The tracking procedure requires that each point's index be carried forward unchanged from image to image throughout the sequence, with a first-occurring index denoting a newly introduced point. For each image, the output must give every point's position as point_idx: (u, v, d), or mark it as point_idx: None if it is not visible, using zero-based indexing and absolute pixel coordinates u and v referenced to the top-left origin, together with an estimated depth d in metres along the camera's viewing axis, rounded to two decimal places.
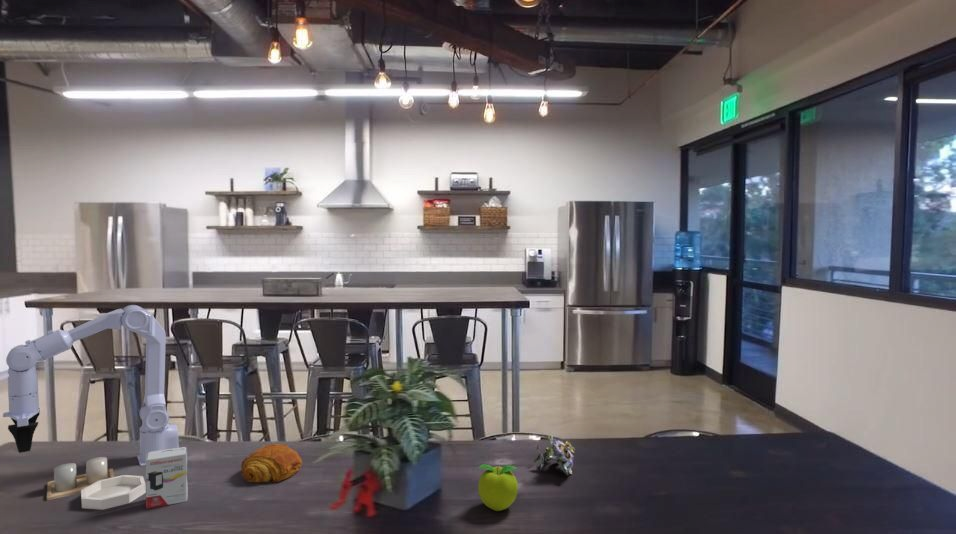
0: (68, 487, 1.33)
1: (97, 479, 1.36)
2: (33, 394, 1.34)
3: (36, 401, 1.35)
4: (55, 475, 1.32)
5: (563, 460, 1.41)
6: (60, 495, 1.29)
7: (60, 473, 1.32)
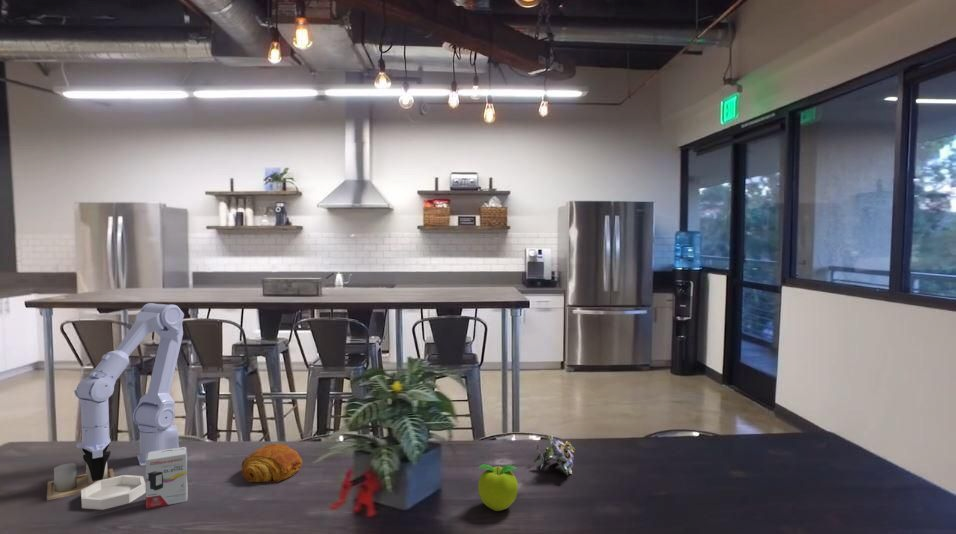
0: (68, 487, 1.33)
1: None
2: (105, 425, 1.37)
3: (107, 432, 1.38)
4: (55, 474, 1.32)
5: (563, 460, 1.41)
6: (60, 495, 1.29)
7: (60, 473, 1.32)
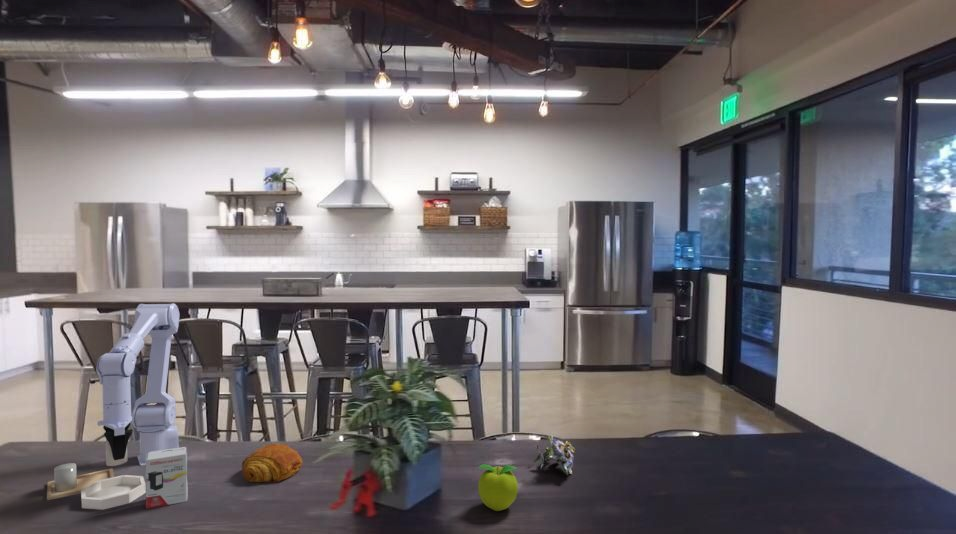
0: (68, 487, 1.33)
1: (116, 460, 1.31)
2: (127, 402, 1.32)
3: (129, 409, 1.33)
4: (55, 474, 1.32)
5: (563, 460, 1.41)
6: (60, 495, 1.29)
7: (60, 473, 1.32)
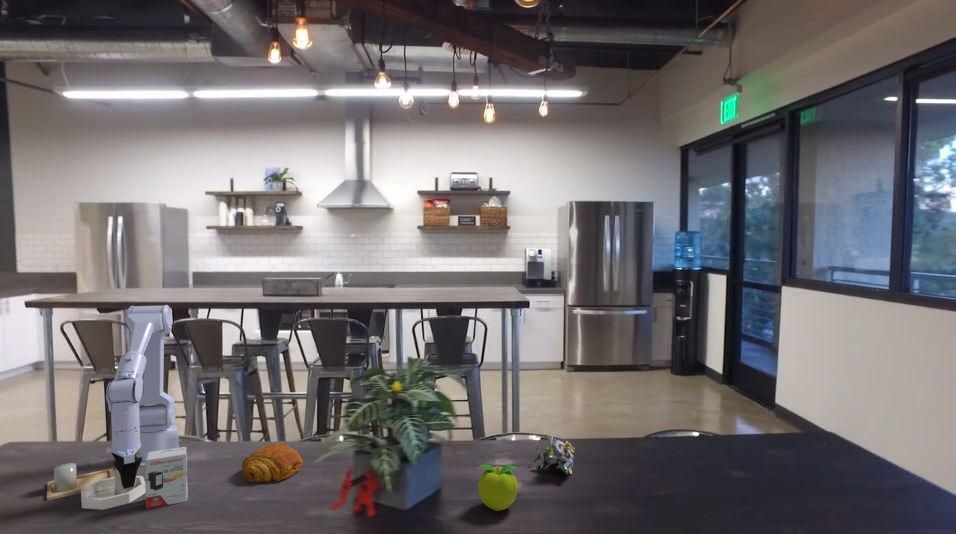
0: (68, 487, 1.33)
1: (125, 490, 1.30)
2: (136, 429, 1.31)
3: (138, 436, 1.32)
4: (55, 474, 1.32)
5: (563, 460, 1.41)
6: (60, 495, 1.29)
7: (60, 473, 1.32)
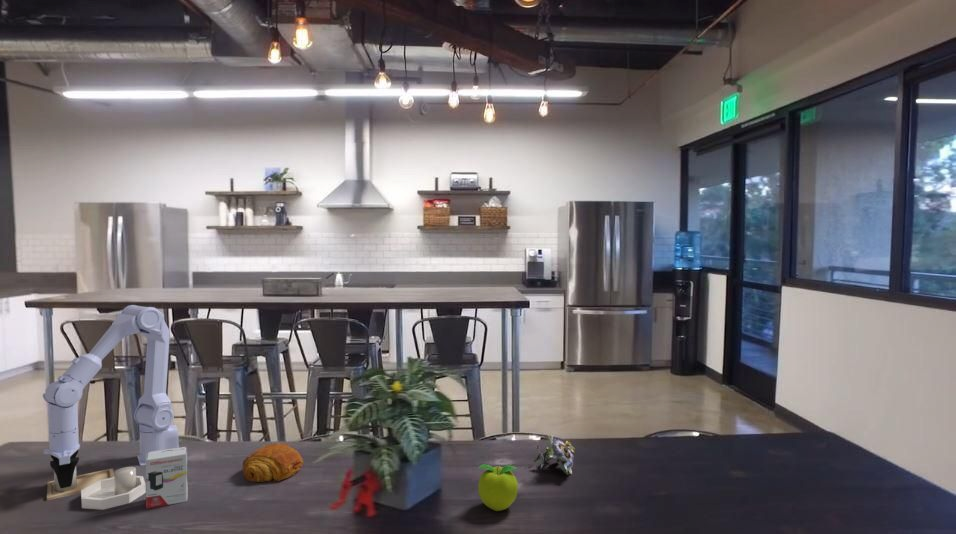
0: (68, 487, 1.33)
1: (125, 490, 1.30)
2: (74, 430, 1.33)
3: (76, 437, 1.34)
4: (55, 474, 1.32)
5: (563, 460, 1.41)
6: (60, 495, 1.29)
7: None
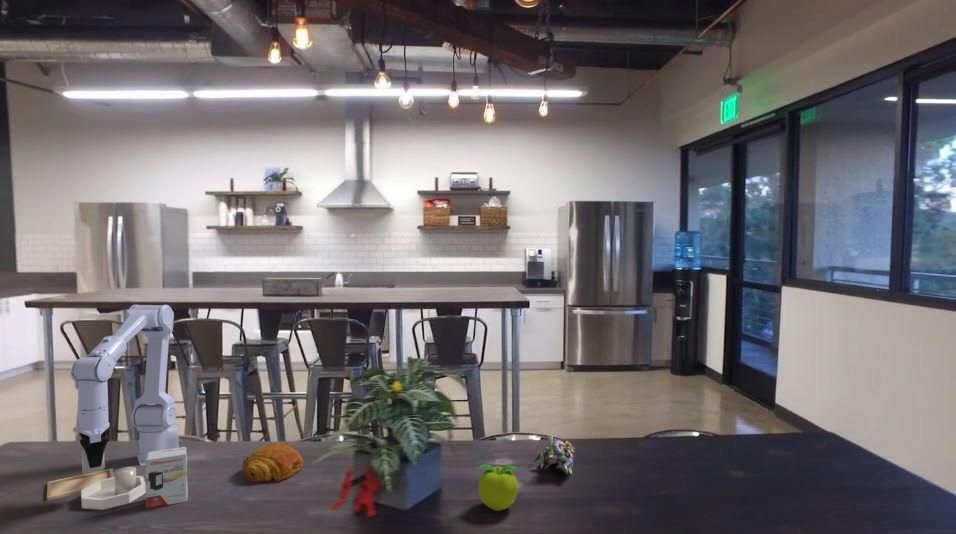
0: (95, 468, 1.27)
1: (125, 490, 1.30)
2: (104, 408, 1.27)
3: (106, 415, 1.28)
4: (82, 455, 1.26)
5: (563, 459, 1.41)
6: (60, 495, 1.29)
7: None
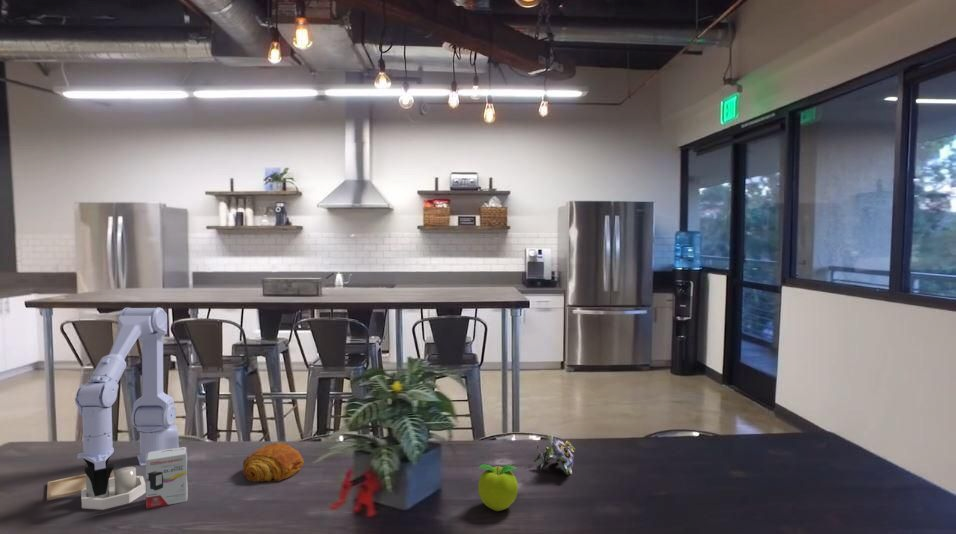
0: None
1: (125, 490, 1.30)
2: (108, 434, 1.27)
3: (111, 441, 1.28)
4: (87, 485, 1.26)
5: (563, 459, 1.41)
6: (60, 495, 1.29)
7: None
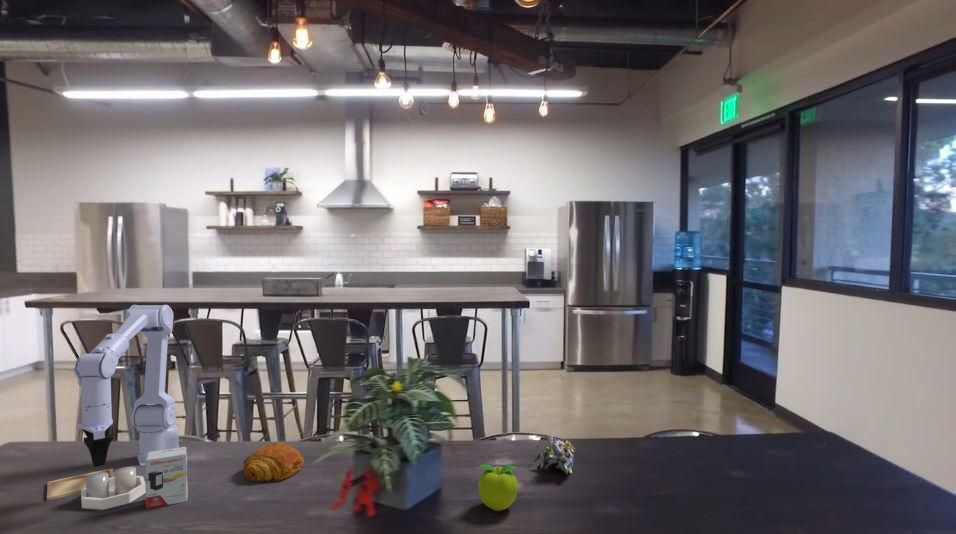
0: None
1: (125, 490, 1.30)
2: (107, 404, 1.27)
3: (110, 412, 1.28)
4: (87, 485, 1.26)
5: (563, 459, 1.41)
6: (60, 495, 1.29)
7: (91, 483, 1.26)
